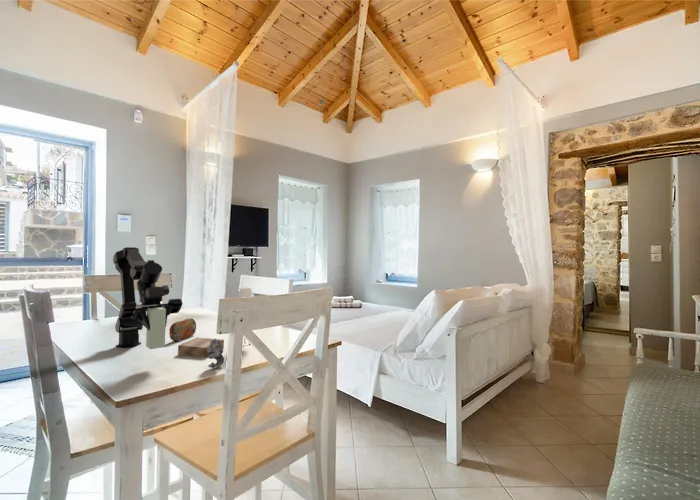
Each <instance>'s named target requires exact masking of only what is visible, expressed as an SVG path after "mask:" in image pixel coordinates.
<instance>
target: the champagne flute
mask: <svg viewBox="0 0 700 500" xmlns="http://www.w3.org/2000/svg"><path fill="white" fill-rule="evenodd" d="M239 297H252V298H253V294H252V287H240V288H239V292H238V298H239ZM247 340H248V339H247V338H246V339H245V338H244V344H246V343H249V342H248V341H249V340H248V341H247ZM249 344H250V343H249Z"/></svg>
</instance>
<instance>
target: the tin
mask: <svg viewBox="0 0 700 500" xmlns="http://www.w3.org/2000/svg"><path fill="white" fill-rule="evenodd" d="M196 330H197V323H196V321H195V319H193V318H185V319H181V320H179V321H178V320H177V321H174V322H173V323H172V324H171V325H170V327H169V334H168V335H169V338H170V340H172V341H173V342H182V341H183V340H186V339H188V338H189V339H190V338H191V337H193V336H194V335H195V333H196Z"/></svg>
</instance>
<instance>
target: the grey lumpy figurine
mask: <svg viewBox="0 0 700 500" xmlns="http://www.w3.org/2000/svg"><path fill="white" fill-rule="evenodd" d="M213 339H214V340H211V342H210V344H211V345H210V346H209V347H208V348H207V351H208V352H209V353H208V357H207V358H208V359H210V360H212V359H214V360H216V363H214V362H211V363H210V364H208V365H207V366H208V368H210V369H211V368H212V369H213V368H220V367H221V366H222V365H223V364H224V362H225V357H224V355H223V353H224V348H223V349H222V348H221V346H222V344H221V343H220V340H216V339H217V338H213Z"/></svg>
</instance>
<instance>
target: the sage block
mask: <svg viewBox="0 0 700 500" xmlns="http://www.w3.org/2000/svg"><path fill="white" fill-rule="evenodd" d="M146 315H147V318H148V321H149V324H150V330H148V329H147V328H146V332H145V333H146V337H145V340H146V341H145V343H146V344H145V346H146V348H147V349H149V350H154V349H160V348H165V347H166V327H165V322H166V309H164V308H162V307H159V308H148V309H147V311H146Z"/></svg>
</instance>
